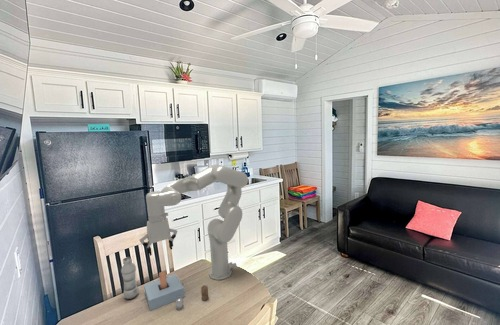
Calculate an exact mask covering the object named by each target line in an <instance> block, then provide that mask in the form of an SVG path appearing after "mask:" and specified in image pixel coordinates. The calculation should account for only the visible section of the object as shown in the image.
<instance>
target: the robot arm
mask: <svg viewBox="0 0 500 325" xmlns="http://www.w3.org/2000/svg"><path fill="white" fill-rule="evenodd" d="M248 180H249V179H248V176H247V174H246V173H245V172H243V171H240V170H237V169H234V168H230V167H227V166H225V165H221V164H213V165H210V166H208V167H206V168H205V169H202V170H200V171H198V172H197V173H194V174H193V175H189V176H187V177H184V178H182V179H178V180H176V181H173V182H172V183H170V184H167V185H166V186H165V187H163V188H162V189H161V191H158V190H155V191H151V192H148V193H146V195H145V201H146V209H147V216H148V217H147V218H148V220H147V221H146V234H145V235H144V236H142V237H141V238H140V239H139V242H140V243H141V245H142V246H143V247H145V248H146V251H147V254H149V256H152V255H153V254H152V247H151V246H152V244H155V243H158V242H162V241H166V240H168V247H169V248H170V250H173V247H174V240H175V238H176V236H177V234H178V230H177V229H173V228H170V225H169V220H168V218H167V216H169V212H166V211H165V207H172V206H176V205H179V204H180V202H181V201H182V194H185V193H187V192H197V191H201V190H203V189H205V188H207V187H208V186H211V185H212V184H214V183H215V182H217V183H218V182H219V183H222V184H224V185H226V188H227V190H226V193H225V195H224V197H223V199H222V201H221V203H220V206H218V211H217V212H218V215H219V216H220V217H221V218H222V219H220V218H213V219H211V220H210V221H209V223H208V225H207V235H208V240H209V248H210V250H209V251H210V261H211V262H210V264H211V269H210V270H209V272H208V275H209V277H210V279H212V280H215V281H216V280H217V281H222V280H225V279H227V278H229V277H230V276H231V275H232V272H233V271H232V268H235V267H237V263H236V262H234V263H233V262H232V261H231V262H229V253H228V249H229V248H228V243H229V242H230V241H231V240H233V238H234V236H235V234H236V232H237V230H238V227H239V225H240V223H241V222H242V219H243V210H242V208H241V206H239V203H240V200H241V198H242V192H243V191H242V188H245V187H246V185H247V184H248V183H249V181H248ZM171 233H173V234H172V235H171ZM145 240H147V242H145Z"/></svg>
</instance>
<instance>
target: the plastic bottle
mask: <svg viewBox="0 0 500 325" xmlns="http://www.w3.org/2000/svg"><path fill="white" fill-rule="evenodd" d="M122 262H123V265H122V267H121V269H120V272H121V276H122V280H123V296H124V298H125V299H127V300H131V299H134V298H135V297H136V296H137V295H138V293H139V287H138V284H137V278H136V273H137V272H136V271H137V266H136V265H135V263H133V260H132V257H131V256H127V257H124V258H123V260H122Z"/></svg>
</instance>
